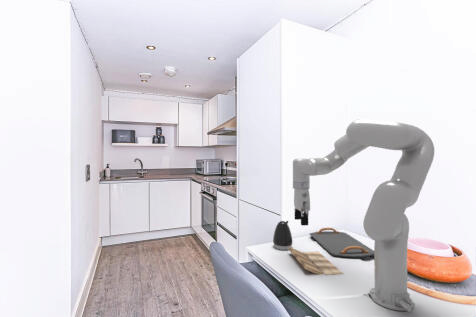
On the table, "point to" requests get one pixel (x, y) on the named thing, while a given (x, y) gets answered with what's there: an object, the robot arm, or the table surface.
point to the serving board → (341, 244)
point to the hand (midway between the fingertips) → (301, 222)
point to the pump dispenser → (282, 236)
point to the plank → (305, 261)
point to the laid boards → (323, 263)
